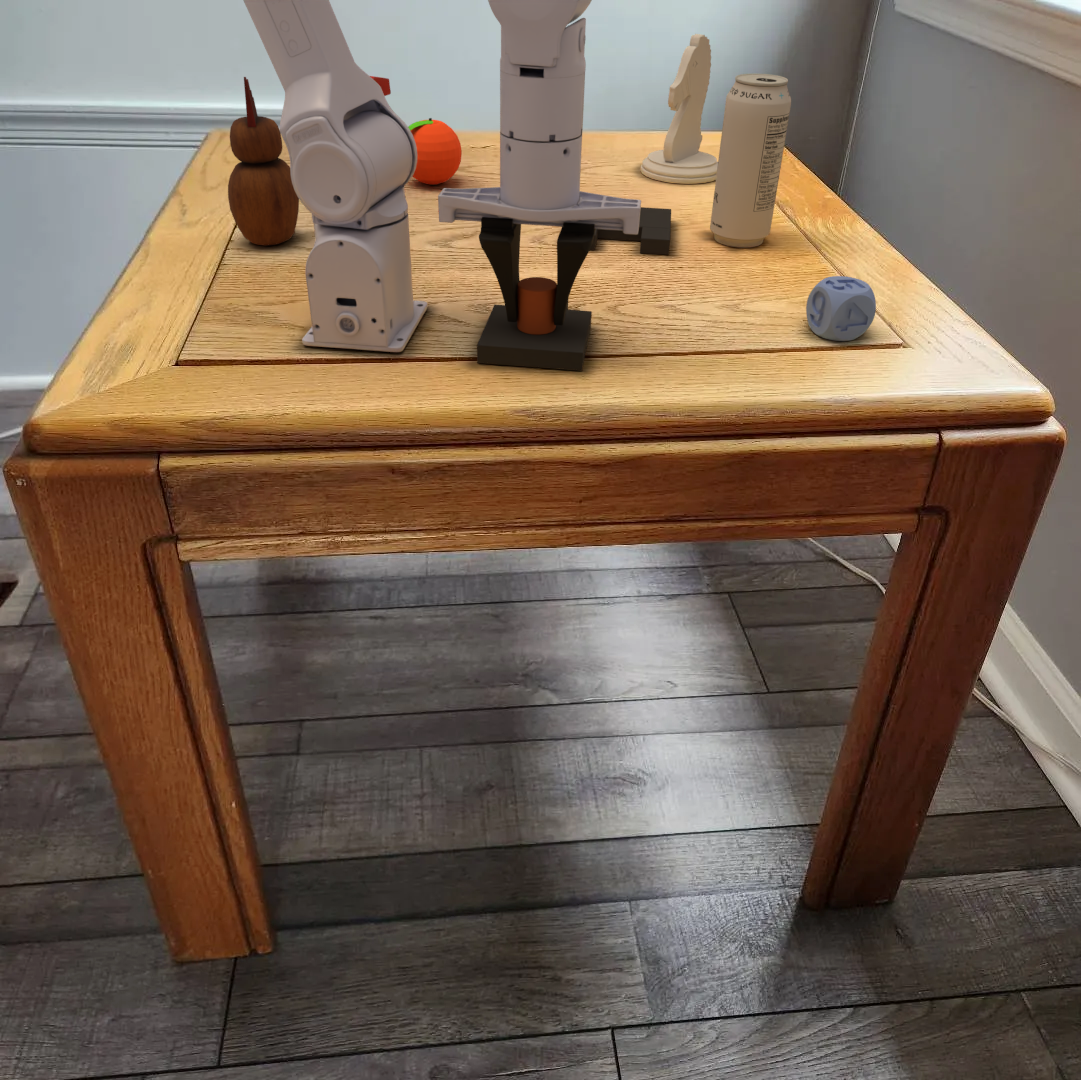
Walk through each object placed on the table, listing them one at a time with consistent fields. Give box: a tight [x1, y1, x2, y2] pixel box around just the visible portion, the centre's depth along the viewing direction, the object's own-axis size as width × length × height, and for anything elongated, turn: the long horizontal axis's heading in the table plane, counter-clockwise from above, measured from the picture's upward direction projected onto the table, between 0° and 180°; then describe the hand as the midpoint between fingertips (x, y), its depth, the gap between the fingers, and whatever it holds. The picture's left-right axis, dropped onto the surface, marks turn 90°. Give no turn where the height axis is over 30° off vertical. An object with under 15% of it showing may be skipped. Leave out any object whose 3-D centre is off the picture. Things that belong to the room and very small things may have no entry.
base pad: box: [589, 206, 672, 256], centre depth 97 cm, size 10×10×2 cm
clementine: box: [407, 117, 463, 186], centre depth 108 cm, size 8×7×7 cm
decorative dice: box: [805, 275, 877, 342], centre depth 77 cm, size 4×4×4 cm
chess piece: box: [640, 33, 718, 185], centre depth 112 cm, size 10×10×15 cm
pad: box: [476, 276, 593, 372], centre depth 75 cm, size 11×8×5 cm
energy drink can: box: [709, 73, 792, 249], centre depth 93 cm, size 6×6×15 cm
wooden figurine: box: [227, 76, 300, 247], centre depth 89 cm, size 7×6×15 cm
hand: (537, 318), depth 74 cm, fingers closed on pad, 3 cm apart
